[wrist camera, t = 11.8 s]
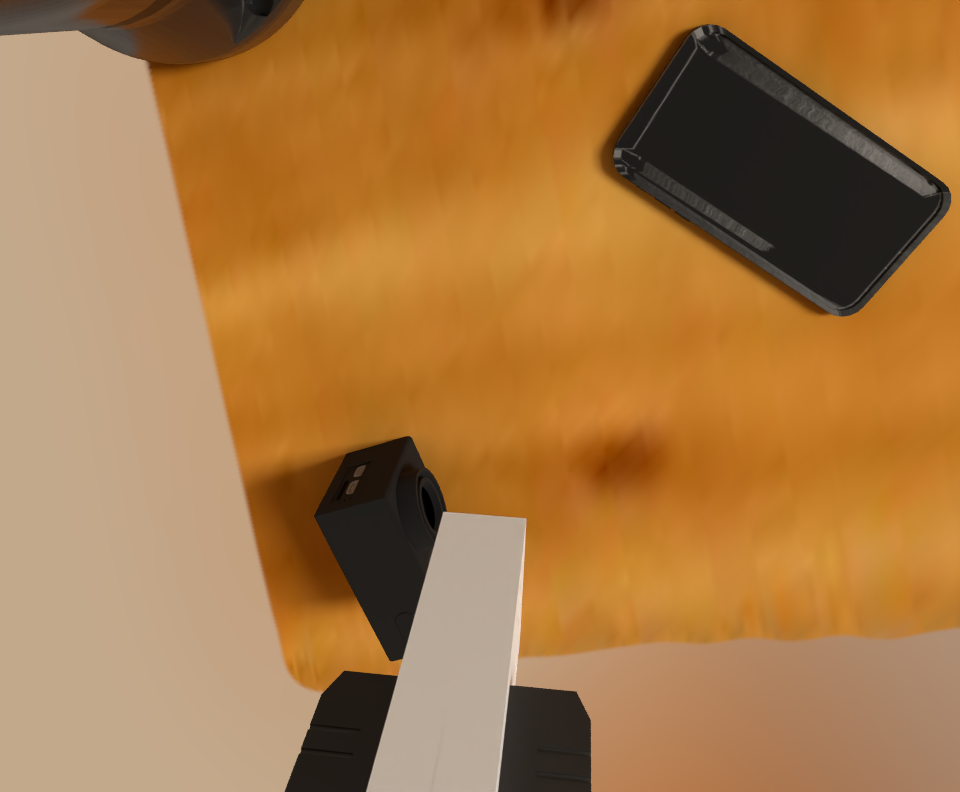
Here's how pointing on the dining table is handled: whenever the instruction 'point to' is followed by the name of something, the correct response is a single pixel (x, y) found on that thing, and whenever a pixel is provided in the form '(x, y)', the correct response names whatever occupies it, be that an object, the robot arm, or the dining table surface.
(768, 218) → the phone
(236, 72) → the dining table surface
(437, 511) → the digital camera
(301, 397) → the dining table surface
